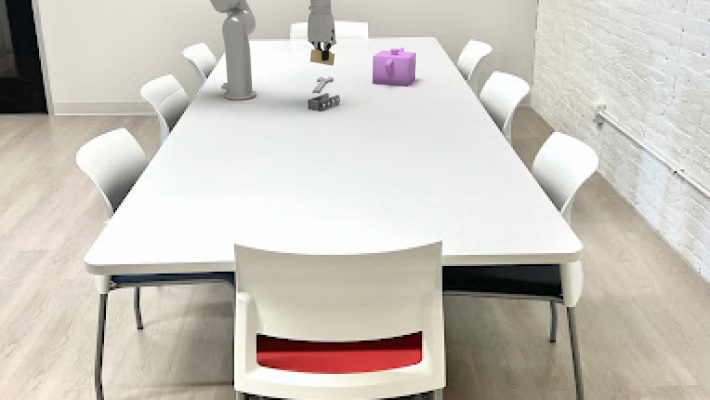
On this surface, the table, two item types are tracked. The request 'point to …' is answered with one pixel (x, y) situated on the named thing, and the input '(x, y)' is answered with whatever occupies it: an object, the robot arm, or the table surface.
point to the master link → (321, 57)
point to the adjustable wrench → (322, 84)
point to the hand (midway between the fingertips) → (322, 59)
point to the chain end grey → (333, 100)
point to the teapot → (394, 67)
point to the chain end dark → (318, 103)
